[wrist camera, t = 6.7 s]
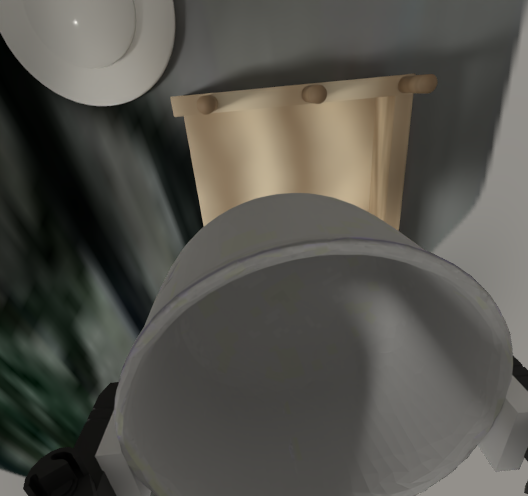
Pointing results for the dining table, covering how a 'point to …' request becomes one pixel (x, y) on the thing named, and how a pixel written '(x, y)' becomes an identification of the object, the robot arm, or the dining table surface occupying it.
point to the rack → (303, 142)
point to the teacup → (310, 360)
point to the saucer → (91, 45)
